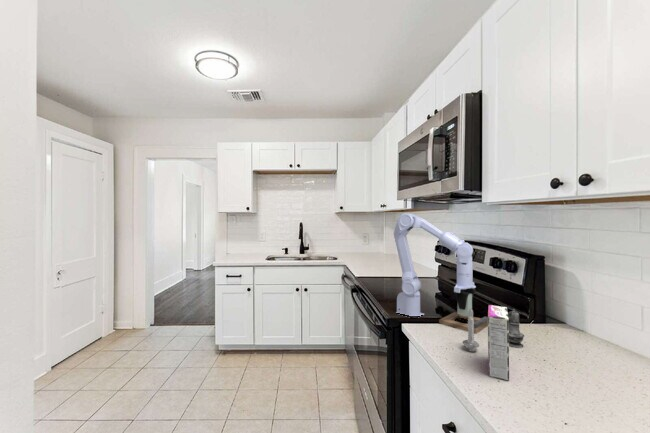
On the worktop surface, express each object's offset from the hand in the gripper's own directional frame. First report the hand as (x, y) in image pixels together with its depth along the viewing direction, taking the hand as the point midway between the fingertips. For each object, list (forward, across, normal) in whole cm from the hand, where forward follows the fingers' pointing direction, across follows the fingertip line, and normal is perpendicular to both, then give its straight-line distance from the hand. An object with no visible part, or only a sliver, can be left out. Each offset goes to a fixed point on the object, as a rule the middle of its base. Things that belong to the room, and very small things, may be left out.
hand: (464, 307), depth 117 cm
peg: (+2, 0, 0) cm, 2 cm away
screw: (+7, -22, -11) cm, 25 cm away
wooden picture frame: (+6, 0, 0) cm, 6 cm away
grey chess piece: (+7, -7, -19) cm, 21 cm away
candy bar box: (+7, -29, -21) cm, 36 cm away
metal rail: (+5, 0, -6) cm, 8 cm away
